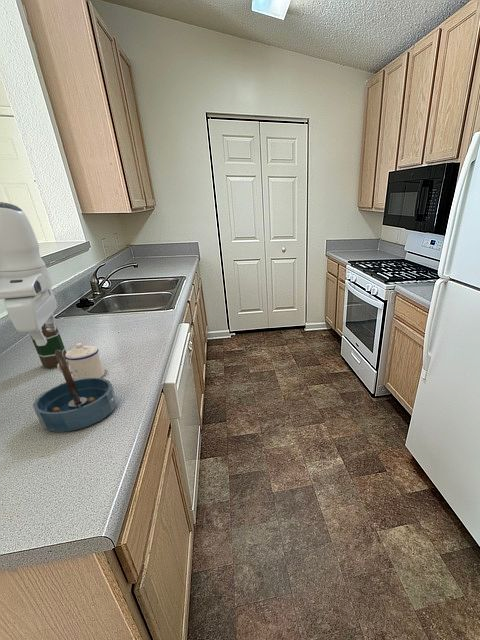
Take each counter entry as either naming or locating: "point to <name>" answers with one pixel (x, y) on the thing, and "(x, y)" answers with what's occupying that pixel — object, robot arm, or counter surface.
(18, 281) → the robot arm
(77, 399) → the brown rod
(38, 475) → the counter surface
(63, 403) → the bowl
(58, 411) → the bead
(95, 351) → the teacup with lid
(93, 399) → the bead
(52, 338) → the beer bottle
